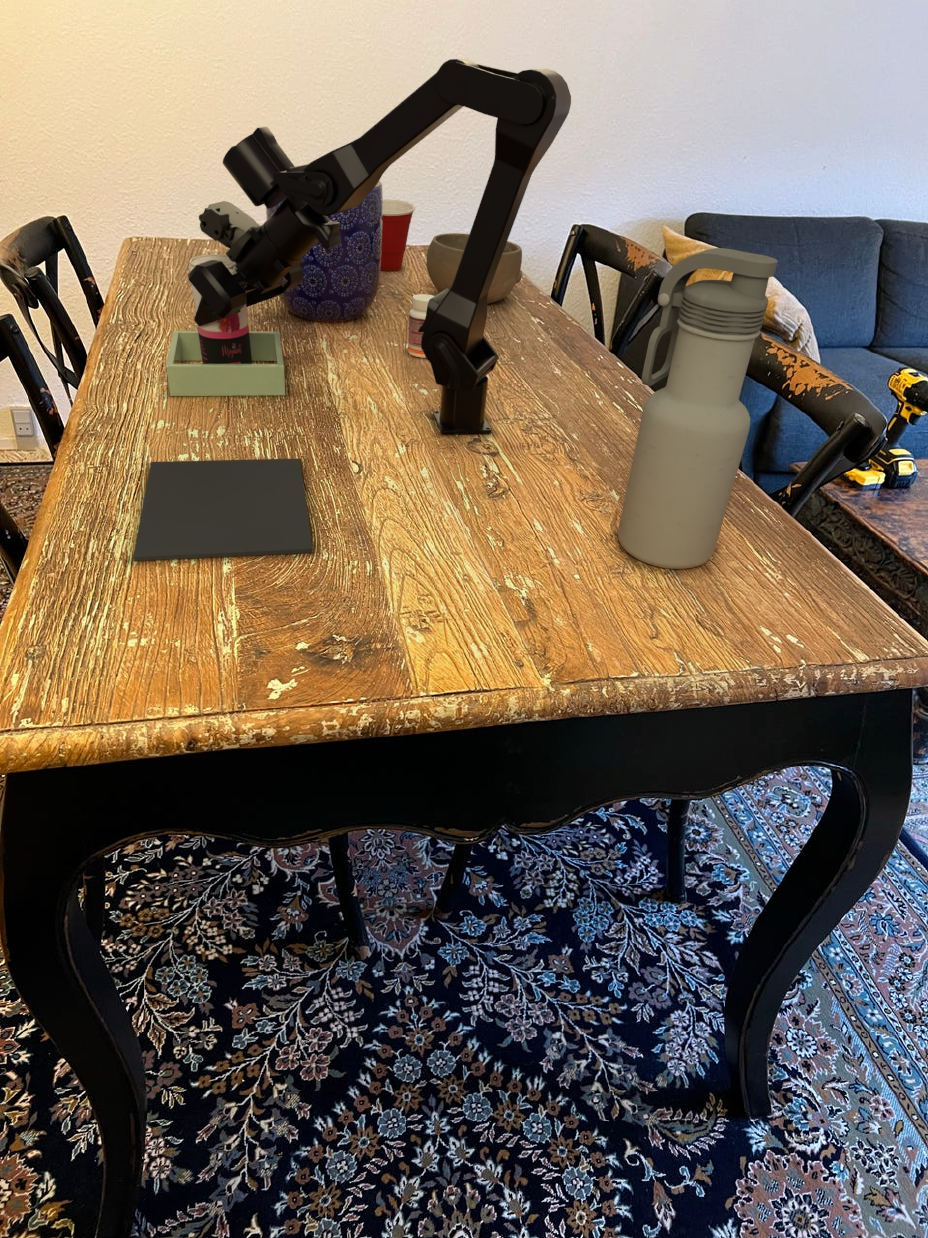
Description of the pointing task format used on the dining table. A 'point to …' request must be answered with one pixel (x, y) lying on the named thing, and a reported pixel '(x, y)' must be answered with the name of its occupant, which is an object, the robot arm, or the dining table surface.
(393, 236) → the plastic cup
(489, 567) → the dining table surface
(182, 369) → the basin
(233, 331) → the beverage can
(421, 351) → the pill bottle
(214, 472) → the mat
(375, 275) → the planter
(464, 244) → the bowl
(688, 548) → the water bottle
